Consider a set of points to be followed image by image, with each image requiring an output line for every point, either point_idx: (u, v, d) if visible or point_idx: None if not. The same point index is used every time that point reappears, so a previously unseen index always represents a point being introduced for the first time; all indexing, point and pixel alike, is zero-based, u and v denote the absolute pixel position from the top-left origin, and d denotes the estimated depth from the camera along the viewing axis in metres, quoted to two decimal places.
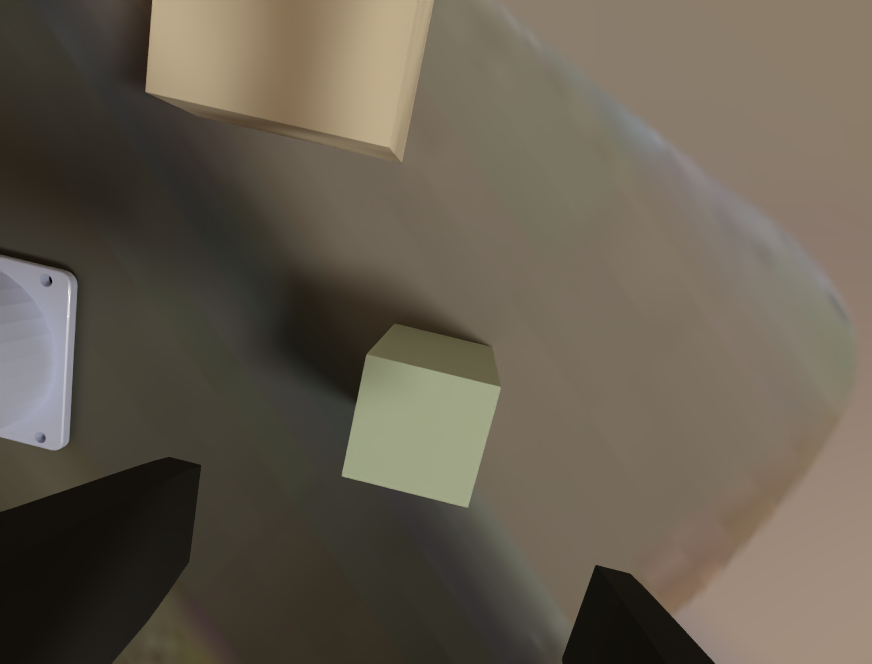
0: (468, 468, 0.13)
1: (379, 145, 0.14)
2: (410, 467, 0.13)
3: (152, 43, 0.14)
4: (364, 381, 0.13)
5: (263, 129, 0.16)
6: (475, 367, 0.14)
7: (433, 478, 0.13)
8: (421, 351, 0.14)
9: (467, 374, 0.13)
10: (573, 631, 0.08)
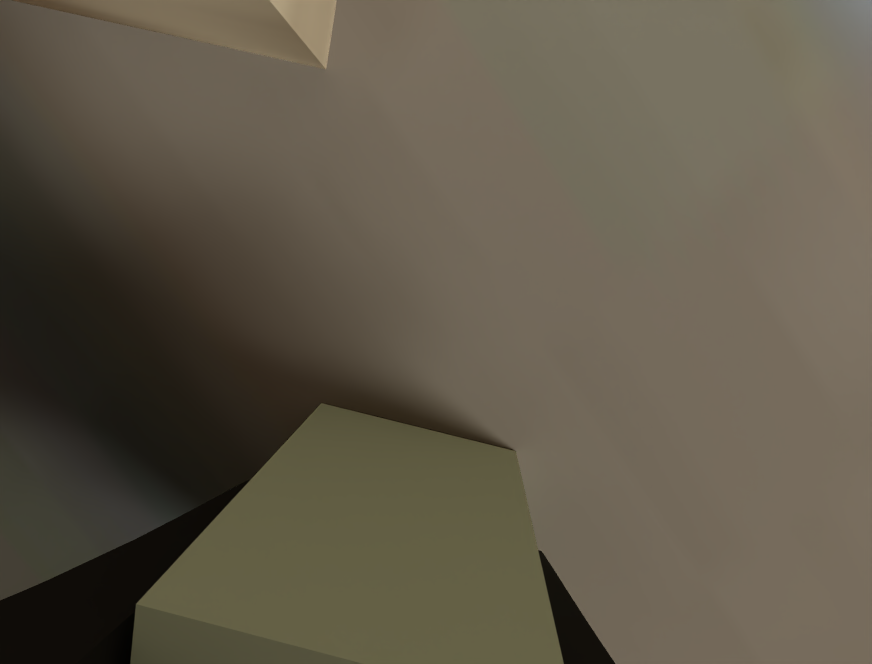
0: None
1: None
2: None
3: None
4: None
5: None
6: (488, 579, 0.05)
7: None
8: (347, 522, 0.06)
9: (464, 647, 0.04)
10: None
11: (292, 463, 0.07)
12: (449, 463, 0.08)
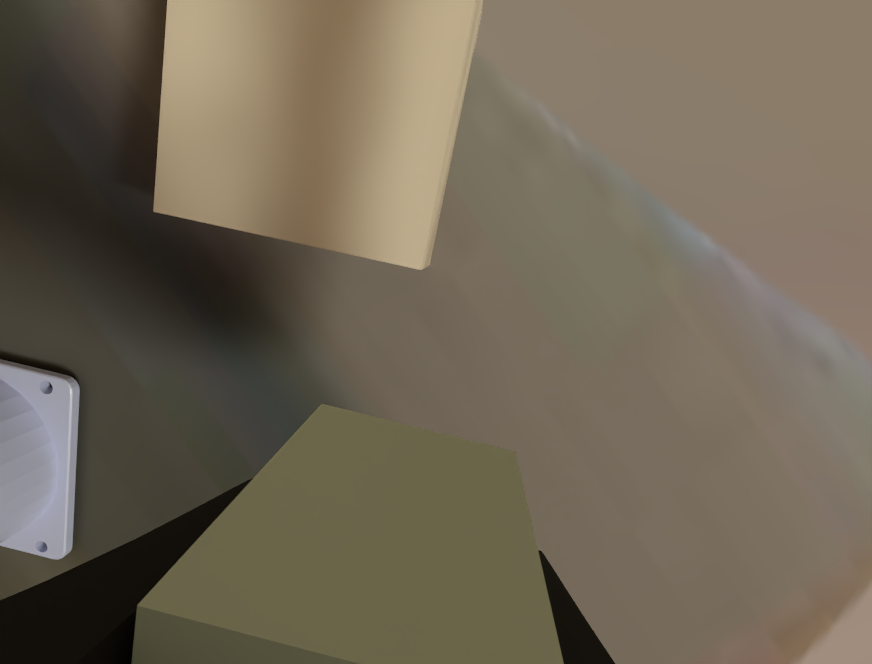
0: None
1: (410, 266, 0.13)
2: None
3: (160, 160, 0.13)
4: None
5: None
6: (488, 579, 0.05)
7: None
8: (347, 523, 0.06)
9: (463, 647, 0.04)
10: None
11: (292, 464, 0.07)
12: (449, 464, 0.08)
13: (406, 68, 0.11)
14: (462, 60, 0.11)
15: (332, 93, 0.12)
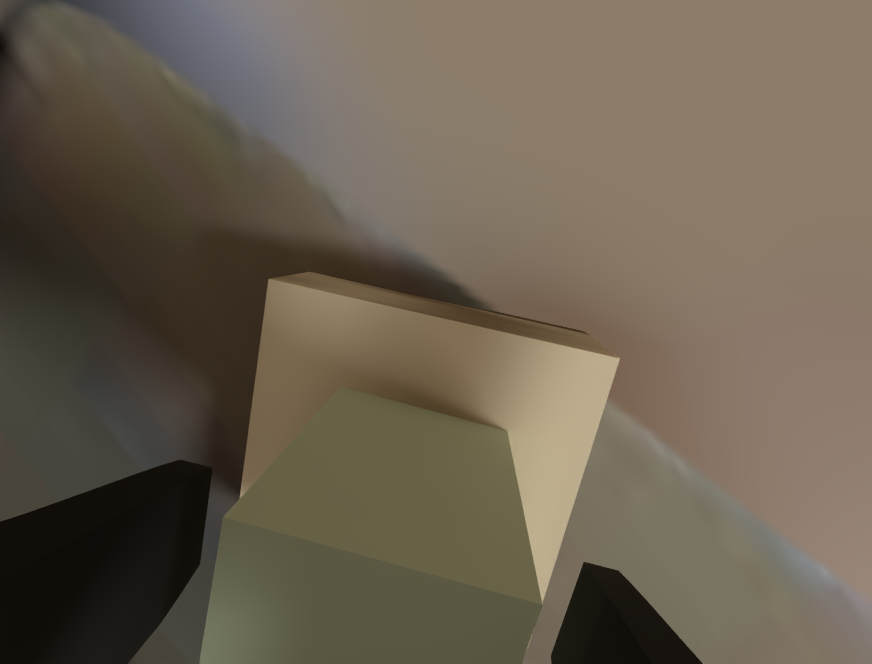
0: None
1: None
2: None
3: None
4: (221, 576, 0.05)
5: None
6: (480, 517, 0.07)
7: None
8: (369, 474, 0.07)
9: (462, 558, 0.06)
10: (562, 628, 0.08)
11: (322, 431, 0.08)
12: (450, 437, 0.09)
13: (522, 463, 0.10)
14: (586, 459, 0.10)
15: None
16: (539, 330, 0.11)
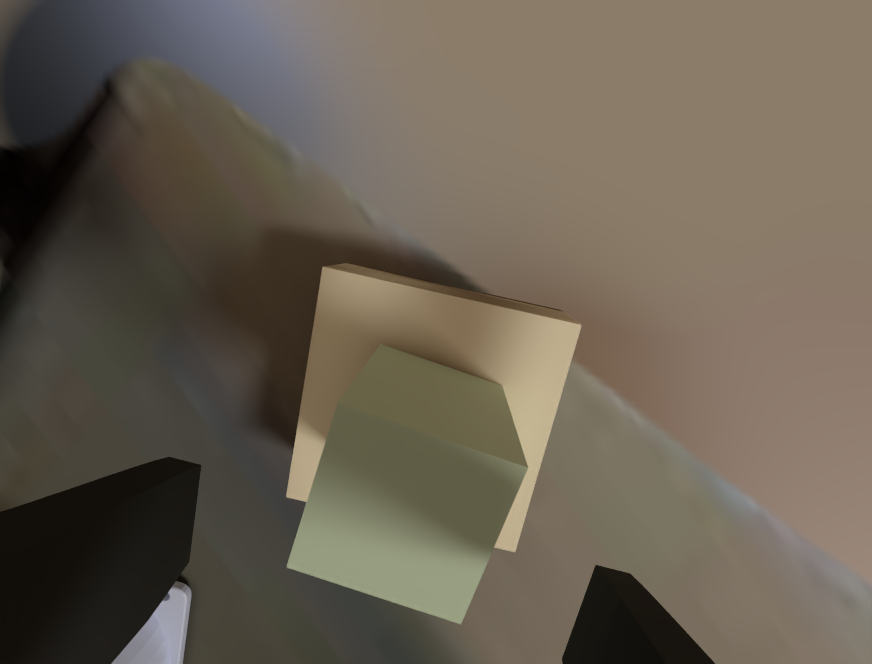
0: (468, 572, 0.09)
1: (505, 547, 0.15)
2: (385, 565, 0.09)
3: (294, 456, 0.15)
4: (331, 441, 0.09)
5: None
6: (489, 426, 0.10)
7: (417, 581, 0.09)
8: (415, 395, 0.10)
9: (479, 442, 0.09)
10: (573, 631, 0.08)
11: (377, 368, 0.11)
12: (463, 383, 0.12)
13: (510, 405, 0.14)
14: (558, 401, 0.14)
15: None
16: (524, 306, 0.14)
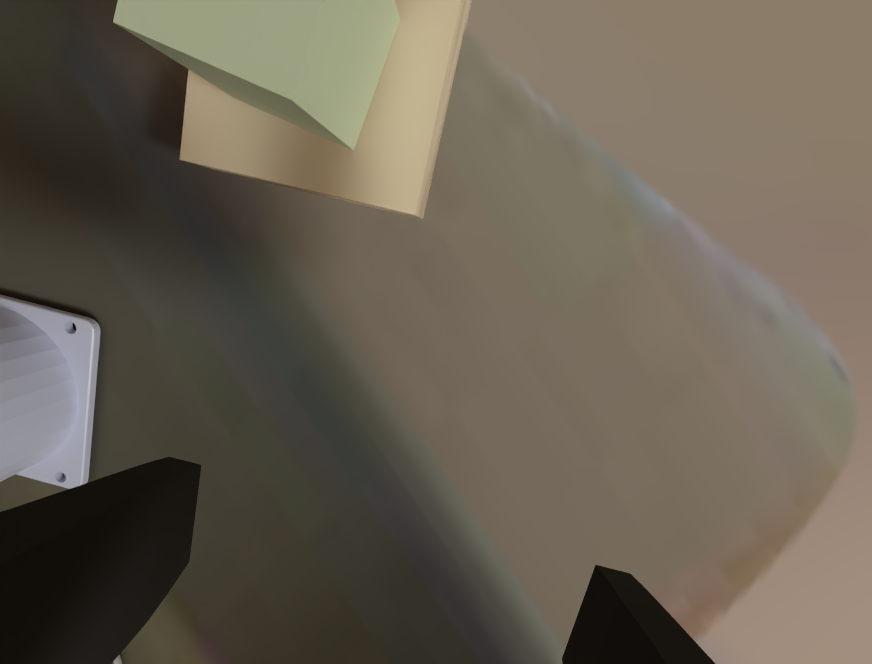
0: (298, 30, 0.09)
1: (405, 212, 0.14)
2: (214, 18, 0.09)
3: (186, 113, 0.14)
4: None
5: (289, 187, 0.17)
6: None
7: (246, 41, 0.09)
8: None
9: None
10: (573, 631, 0.08)
11: None
12: None
13: (405, 36, 0.13)
14: (454, 30, 0.13)
15: None
16: None
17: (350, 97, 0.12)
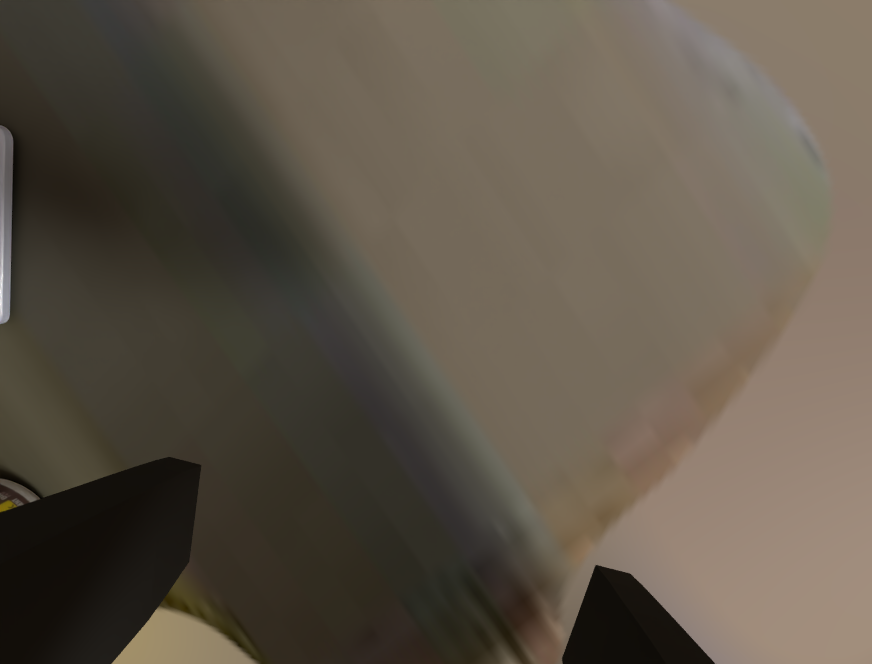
0: None
1: None
2: None
3: None
4: None
5: None
6: None
7: None
8: None
9: None
10: (573, 631, 0.08)
11: None
12: None
13: None
14: None
15: None
16: None
17: None
